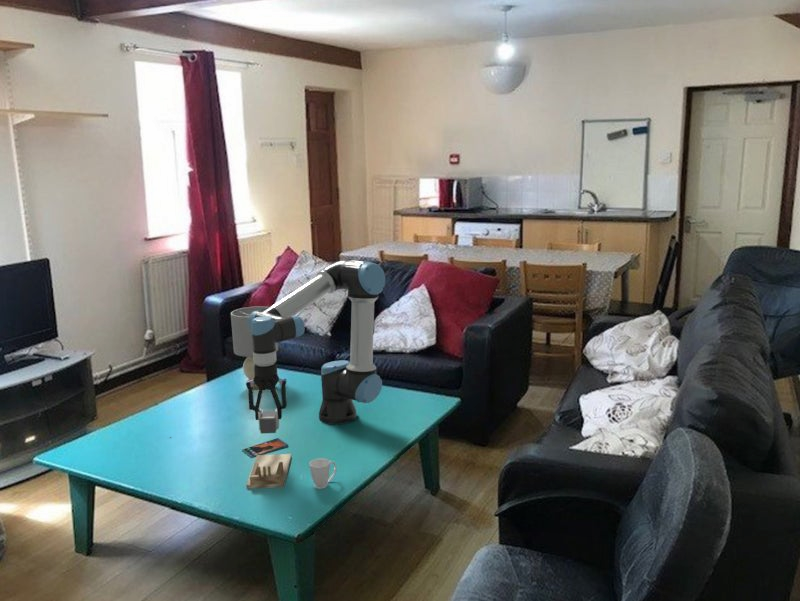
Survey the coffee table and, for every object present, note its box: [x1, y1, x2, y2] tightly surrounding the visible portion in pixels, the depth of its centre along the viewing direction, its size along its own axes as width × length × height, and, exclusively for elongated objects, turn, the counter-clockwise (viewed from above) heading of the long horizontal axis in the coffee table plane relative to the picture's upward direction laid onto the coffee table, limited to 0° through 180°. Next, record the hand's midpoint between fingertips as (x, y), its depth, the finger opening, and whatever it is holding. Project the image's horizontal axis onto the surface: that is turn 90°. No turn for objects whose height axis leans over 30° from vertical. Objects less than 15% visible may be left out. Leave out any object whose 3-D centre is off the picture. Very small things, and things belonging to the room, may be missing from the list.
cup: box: [308, 457, 337, 490], centre depth 225 cm, size 7×10×8 cm
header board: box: [246, 453, 292, 489], centre depth 234 cm, size 12×22×7 cm, turn 3°
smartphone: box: [241, 437, 289, 459], centre depth 253 cm, size 8×1×15 cm
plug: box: [259, 410, 278, 435], centre depth 237 cm, size 5×8×5 cm, turn 3°
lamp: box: [230, 306, 279, 391], centre depth 315 cm, size 20×20×35 cm
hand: (269, 427), depth 237 cm, fingers closed on plug, 5 cm apart
